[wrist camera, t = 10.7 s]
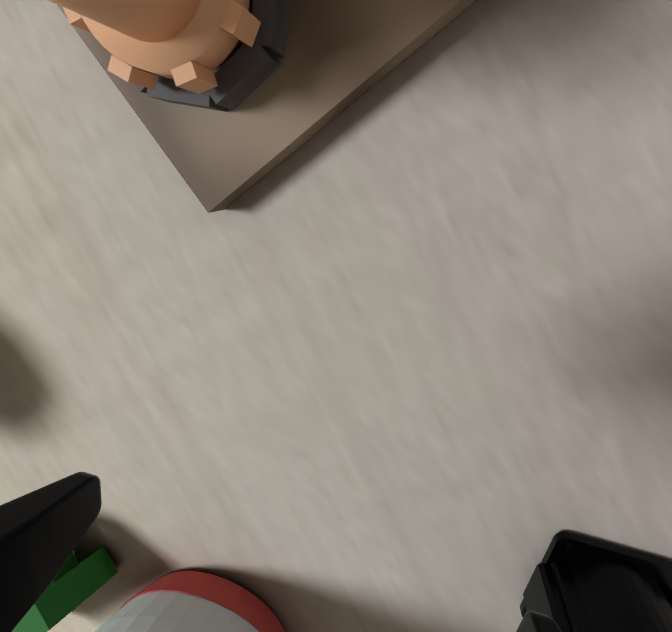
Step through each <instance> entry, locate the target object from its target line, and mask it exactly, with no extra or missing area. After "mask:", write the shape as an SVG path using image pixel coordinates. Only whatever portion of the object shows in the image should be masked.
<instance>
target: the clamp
mask: <svg viewBox="0 0 672 632" xmlns="http://www.w3.org/2000/svg"><path fill="white" fill-rule="evenodd" d="M117 572H118V570H117V568H116V566H115V565H114V563H113V561H112V560H111V558H110V556H109V555H108V553H107V551H106V550H105V548H104V546H103V547H101V548H100V549H98V550H97V551H96V552H94V553H93V554H91V555H90V556H88V557H87V558H85V559H84V560H82V561H81V562H80V563H79V562H78V561H77V559H76V557H75V556H74V554H73V552H72V553H71V555H70V556H69V558H68V559H67V561H66V562H65V564H64V565H63V566H62V568H61V569H60V571H59V572H58V574H57V575H56V577H55V578H54V579H53V581H52V582H51V583H50V585H49V586H48V587H47V589H46V590H45V591H44V593H43V594H42V595H41V596H40V598H39V599H38V600H37V601H36V603H35V604H34V605H33V606H32V607H31V609H30V610H29V611H28V612H27V614H26V615H25V616H24V617H23V618H22V620H21V621H20V622H19V623H18V624H17V626H16V627H15V628H14V629H13V631H12V632H47V631H48V630H50V629H51V628H52V627H53V626H55V625H56V624H57V623H58V622H59V621H61V620H62V619H63V618H64V617H65V616H66V615H68V614H69V613H70V612H71V611H72V610H74V609H75V608H76V607H77V606H78V605H80V604H81V603H82V602H83V601H84V600H85V599H87V598H88V597H89V596H90V595H91V594H93V593H94V592H95V591H96V590H97V589H99V588H100V587H101V586H102V585H103V584H104V583H106V582H107V581H108V580H109V579H110V578H112V577H113V576H114V575H115V574H116V573H117Z"/></svg>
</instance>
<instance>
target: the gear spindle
mask: <svg viewBox="0 0 672 632" xmlns="http://www.w3.org/2000/svg"><path fill="white" fill-rule="evenodd" d="M49 1H51V2H53V3H56V4H58V5H60V6H62V7H63V9H64V11H65V14H66V16H67V19H68V21H69V24H71V25H73V26H76V27H78V28H81V29H83V30H86V31H88V32H91V33H92V34H93V35H94V37H95V38H96V39H97V40H98V41H99V43H100V44H101V45H102V46H103V47H104V48H105V49H106V50H108V51H109V52H110V53H111V54H112V55H111V58H110V62H109V66H108V71H110V72H111V73H113V74H115V75H116V76H118V77H120V78H122V79H123V80H125V81H127V82H129V83H132V84H136V85H139V86H143V87H146V88H150V89H153V90H155V87H156V83H157V80H158V77H159V76H163V77H166V78H170V79H174V81H175V84H176V86H177V87H180V88H183V89H186V90H189V91H192V92H195V93H198V94H200V93H202V92H205V91H207V90H209V89H212V88H214V87H217V86H218V85H217V82H216V79H215V76H214V73H213V71H212V70H213V69H215V68H216V67H217V66H219V65H220V64H221V63H223V62H225V61H227V60H228V59H229V58H231V57H232V56H233V55H234V54H235V53H236V52H237V50H238V49H239V48H240V46H241V44H242V43H245V44H247V45H249V46H250V47H252V46H253V43H254V40H255V38H256V35H257V32H258V30H259V27H260V24H261V22H260V21H259V20H258V19H257V18H255V17H254V16H253V15H252V14H251V0H49ZM113 55H114V56H113ZM157 75H159V76H157Z"/></svg>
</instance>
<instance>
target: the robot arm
mask: <svg viewBox="0 0 672 632" xmlns="http://www.w3.org/2000/svg"><path fill="white" fill-rule="evenodd" d="M100 509H101V486H100V479H99V478H98V476H95V475H92V474H89V473H86V472H78V473H75V474H73V475H70V476H68V477H66V478H63V479H61V480H59V481H56V482H54V483H52V484H49V485H47V486H45V487H42V488H40V489H38V490H35V491H33V492H31V493H28V494H26V495H24V496H21V497H19V498H17V499H14V500H12V501H10V502H7V503H5V504H3V505H0V632H12V631H13V629H14V628H15V627H16V626H17V624H18V623H19V622H20V621H21V620H22V618H23V617H24V616H25V615H26V614H27V612H28V611H29V610H30V609H31V607H32V606H33V605H34V604H35V603H36V601H37V600H38V599H39V598H40V596H41V595H42V594H43V593H44V591H45V590H46V589H47V587H48V586H49V585H50V583H51V582H52V581H53V579H54V578H55V577H56V575H57V574H58V572H59V571H60V569H61V568H62V566H63V565H64V564H65V562H66V561H67V559H68V558H69V556H70V555H71V553H72V552H73V551H74V549H75V548H76V546H77V545H78V543H79V542H80V540H81V539H82V537H83V536H84V535H85V533H86V532H87V530H88V529H89V527H90V526H91V524H92V523H93V522H94V520H95V519H96V517H97V516H98V514H99V512H100ZM562 542H566V543H562ZM523 596H524V599H523V601H522V603H521V605H520V610H521V614H522V617H523V619H522V621H521V623H520V625H519V627H518V629H517V631H516V632H672V562H670V561H666V560H663V559H659V558H655V557H652V556H648V555H645V554H641V553H638V552H634V551H631V550H627V549H624V548H620V547H617V546H613V545H610V544H606V543H603V542H599V541H596V540H592V539H588V538H585V537H581V536H578V535H574V534H571V533H567V532H559V533H557V534H556V535H555V536H554V537H553V539H552V541H551V543H550V545H549V547H548V549H547V552H546V554H545V556H544V558H543V560H542V562H540V563H539V564H538V565H537V567H536V569H535V571H534V573H533V575H532V577H531V579H530V581H529V583H528V585H527V587H526V589H525V591H524V593H523Z"/></svg>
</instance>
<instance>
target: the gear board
mask: <svg viewBox="0 0 672 632" xmlns="http://www.w3.org/2000/svg"><path fill="white" fill-rule="evenodd" d="M475 1H476V0H251V14H252V15H253V16H254V17H255V18H257V19H258V20H259V21H260V22H261V24H260V27H259V30H258V32H257V35H256V38H255V40H254V43H253V46H252V47H250V46H249V45H247V44H245V43H242V44H241V46H240V48H239V49H238V50H237V52H236V53H235V54H234V55H233V56H232V57H231V58H229V59H228V60H227V61H225V62H223V63H221V64H220V65H219V66H217V67H216V68H215V69H213V70H212V71H213V73H214V76H215V79H216V82H217V85H218V86H217V87H214V88H212V89H209V90H207V91H205V92H202V93H200V94H198V93H195V92H192V91H189V90H186V89H183V88H180V87H177V86H176V84H175V81H174V79H170V78H166V77H163V76H159V75H157V76H159V77H158V80H157V83H156V87H155V90H153V89H150V88H146V87H143V86H139V85H136V84H132V83H129V82H127V81H125V80H123V79H122V78H120V77H118V76H116V75H115V74H113V73H111V72H110V71H108V66H109V62H110V58H111V55H112V54H111V53H110V52H109V51H108V50H106V49H105V48H104V47H103V46H102V45H101V44H100V43H99V41H98V40H97V39H96V38H95V37H94V35H93V34H92V33H91V32H88V31H86V30H83V29H81V28H78V27H76V26H73V25H72V26H73V27H74V29H75V30H76V31H77V33H78V34H79V36H80V37H81V38H82V40H83V41H84V42H85V44H86V45H87V47H88V48H89V49H90V51H91V52H92V53H93V55H94V56H95V58H96V59H97V60H98V62H99V63H100V64H101V66H102V67H103V69H104V70H105V71H106V73H107V74H108V75H109V77H110V78H111V80H112V81H113V82H114V84H115V85H116V86H117V88H118V89H119V91H120V92H121V93H122V95H123V96H124V97H125V99H126V100H127V102H128V103H129V104H130V106H131V107H132V108H133V110H134V111H135V113H136V114H137V115H138V117H139V118H140V119H141V121H142V122H143V124H144V125H145V126H146V128H147V129H148V130H149V132H150V133H151V135H152V136H153V137H154V139H155V140H156V141H157V143H158V144H159V146H160V147H161V148H162V150H163V151H164V152H165V154H166V155H167V157H168V158H169V159H170V161H171V162H172V163H173V165H174V166H175V168H176V169H177V170H178V172H179V173H180V174H181V176H182V177H183V179H184V180H185V181H186V183H187V184H188V185H189V187H190V188H191V190H192V191H193V192H194V194H195V195H196V196H197V198H198V199H199V201H200V202H201V203H202V205H203V206H204V207H205V209H206V210H207V212H208V213H209V212H214V211H220V210H224V209H225V208H226V207H227V206H229V205H230V204H231V203H232V202H233V201H235V200H236V199H237V198H238V197H240V196H241V195H242V194H243V193H244V192H246V191H247V190H248V189H249V188H250V187H252V186H253V185H254V184H255V183H256V182H258V181H259V180H260V179H261V178H262V177H264V176H265V175H266V174H267V173H268V172H270V171H271V170H272V169H273V168H275V167H276V166H277V165H278V164H279V163H281V162H282V161H283V160H284V159H285V158H287V157H288V156H289V155H290V154H291V153H293V152H294V151H295V150H296V149H297V148H299V147H300V146H301V145H302V144H303V143H305V142H306V141H307V140H308V139H310V138H311V137H312V136H313V135H314V134H316V133H317V132H318V131H319V130H320V129H322V128H323V127H324V126H325V125H326V124H328V123H329V122H330V121H331V120H332V119H334V118H335V117H336V116H337V115H338V114H340V113H341V112H342V111H343V110H345V109H346V108H347V107H348V106H349V105H351V104H352V103H353V102H354V101H355V100H357V99H358V98H359V97H360V96H361V95H363V94H364V93H365V92H366V91H367V90H369V89H370V88H371V87H372V86H373V85H375V84H376V83H377V82H378V81H379V80H381V79H382V78H383V77H384V76H386V75H387V74H388V73H389V72H390V71H392V70H393V69H394V68H395V67H396V66H398V65H399V64H400V63H401V62H402V61H404V60H405V59H406V58H407V57H408V56H410V55H411V54H412V53H413V52H414V51H416V50H417V49H418V48H419V47H421V46H422V45H423V44H424V43H425V42H427V41H428V40H429V39H430V38H431V37H433V36H434V35H435V34H436V33H437V32H439V31H440V30H441V29H442V28H443V27H445V26H446V25H447V24H448V23H449V22H451V21H452V20H453V19H454V18H456V17H457V16H458V15H459V14H460V13H462V12H463V11H464V10H465V9H466V8H468V7H469V6H470V5H471V4H472V3H474V2H475ZM57 5H58V4H57ZM58 7H59V8H60V9H61V11H62V12H63V14H64V15H65V16H66V14H65V11H64V9H63V7H62V6H60V5H58ZM66 18H67V16H66ZM113 56H114V55H113Z"/></svg>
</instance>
